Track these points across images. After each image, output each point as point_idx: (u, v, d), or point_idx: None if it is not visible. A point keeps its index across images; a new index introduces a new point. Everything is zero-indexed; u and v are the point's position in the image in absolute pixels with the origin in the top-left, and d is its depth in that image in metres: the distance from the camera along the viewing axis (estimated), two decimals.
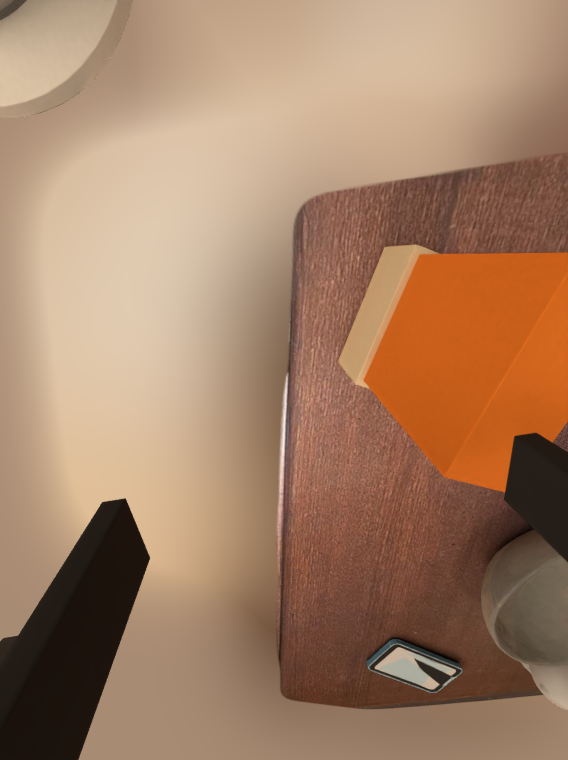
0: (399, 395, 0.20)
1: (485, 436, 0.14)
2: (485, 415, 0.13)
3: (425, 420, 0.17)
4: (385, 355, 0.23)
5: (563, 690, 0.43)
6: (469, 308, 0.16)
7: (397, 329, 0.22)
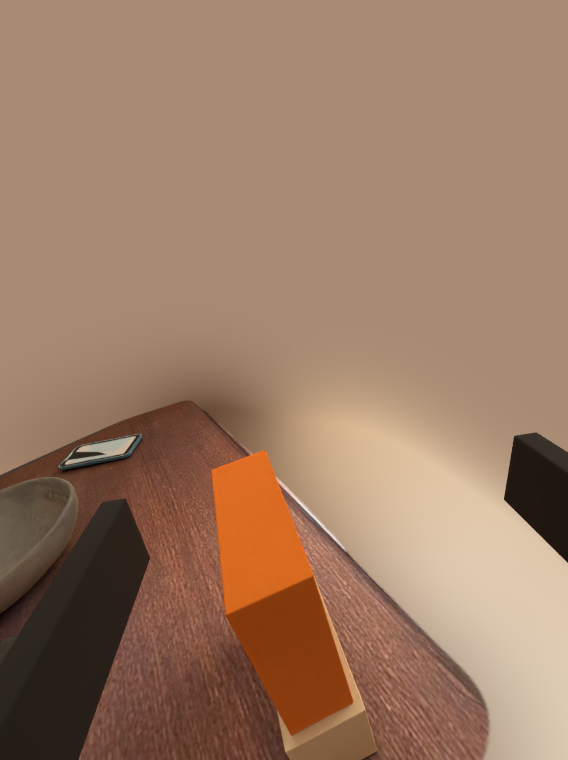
0: None
1: (262, 474, 0.20)
2: (274, 479, 0.20)
3: None
4: None
5: None
6: None
7: None
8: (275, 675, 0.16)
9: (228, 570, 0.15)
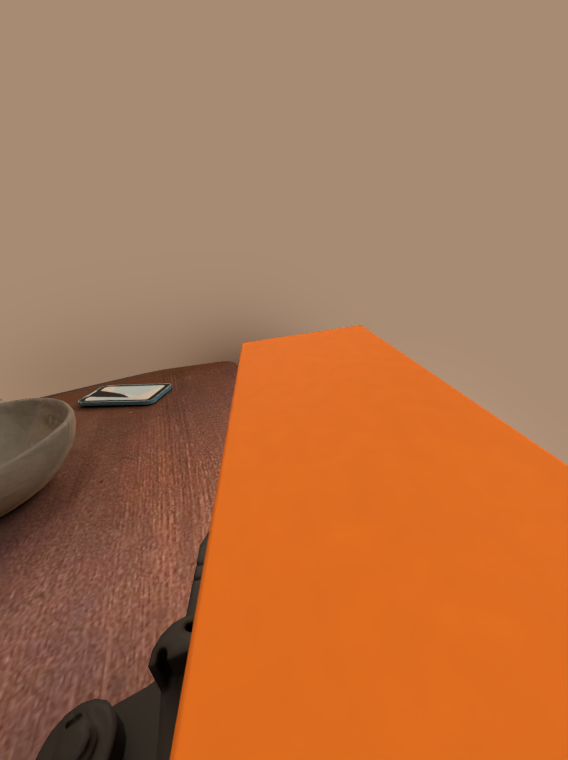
0: None
1: (362, 348, 0.08)
2: (399, 354, 0.07)
3: None
4: None
5: None
6: None
7: None
8: None
9: (242, 562, 0.03)
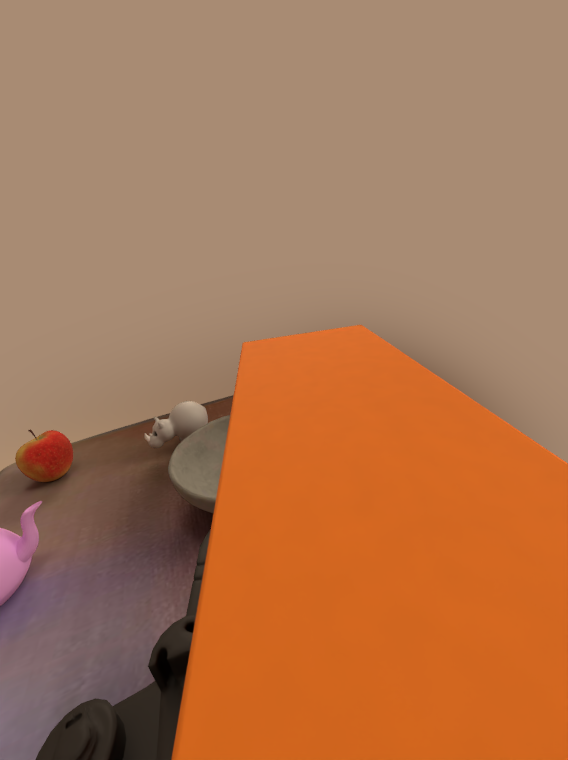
0: None
1: (362, 347, 0.08)
2: (399, 353, 0.07)
3: None
4: None
5: (198, 409, 0.60)
6: None
7: None
8: None
9: (243, 559, 0.03)
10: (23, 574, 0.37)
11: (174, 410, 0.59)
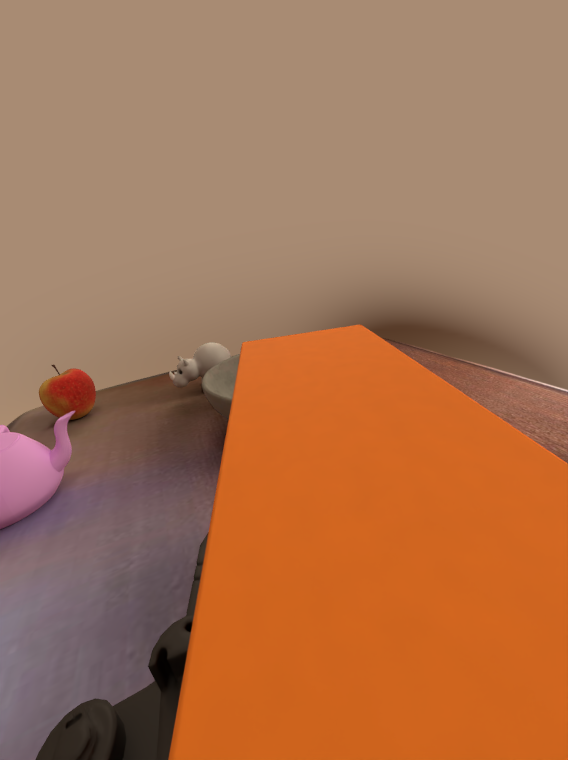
0: None
1: (362, 347, 0.08)
2: (399, 353, 0.07)
3: None
4: None
5: (223, 349, 0.59)
6: None
7: None
8: None
9: (241, 559, 0.03)
10: (57, 482, 0.36)
11: (198, 350, 0.58)
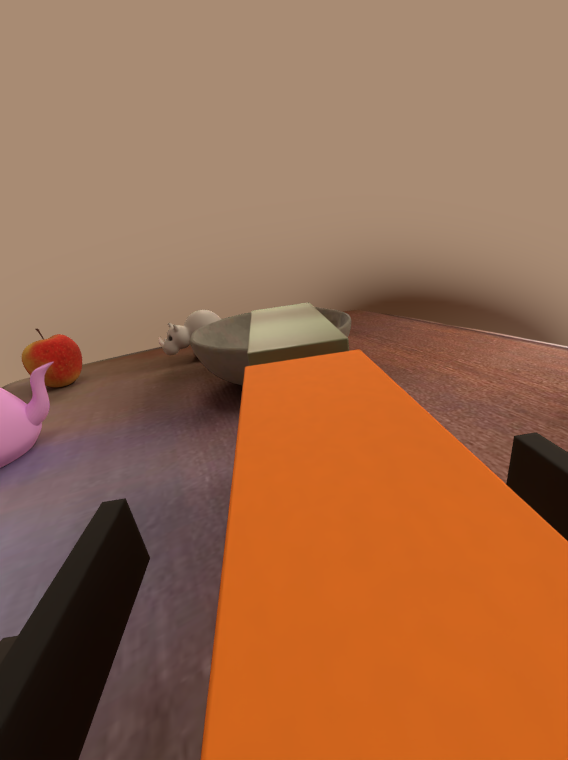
0: None
1: (360, 377, 0.09)
2: (395, 387, 0.08)
3: None
4: None
5: (215, 316, 0.56)
6: None
7: None
8: None
9: (252, 611, 0.03)
10: (33, 436, 0.34)
11: (190, 316, 0.56)
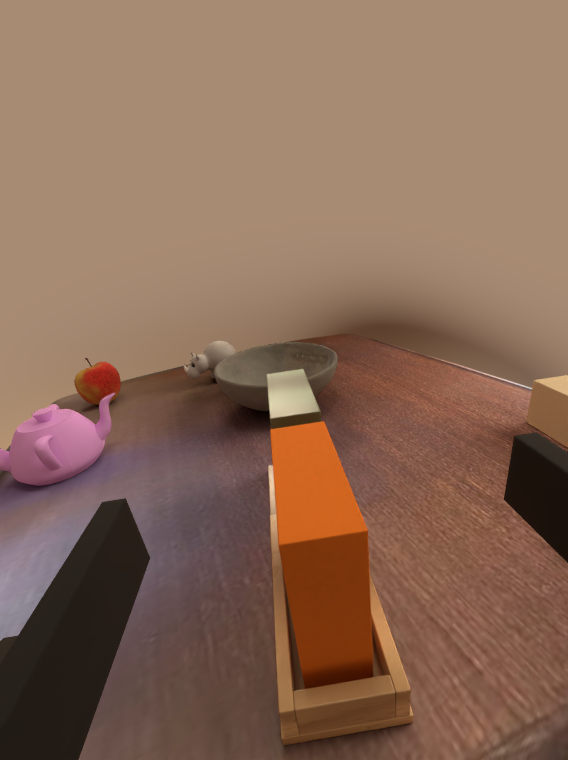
0: None
1: (320, 440, 0.21)
2: (332, 446, 0.20)
3: None
4: None
5: (229, 347, 0.69)
6: None
7: None
8: (307, 624, 0.16)
9: (283, 510, 0.16)
10: (101, 448, 0.46)
11: (208, 346, 0.68)
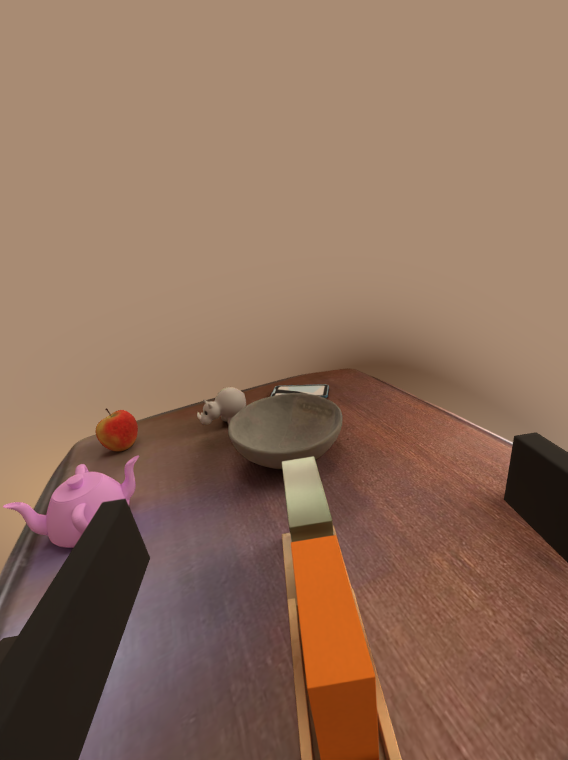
0: None
1: (333, 561, 0.25)
2: (344, 570, 0.24)
3: None
4: None
5: (239, 394, 0.73)
6: None
7: None
8: (327, 735, 0.20)
9: (308, 648, 0.20)
10: None
11: (220, 394, 0.72)
